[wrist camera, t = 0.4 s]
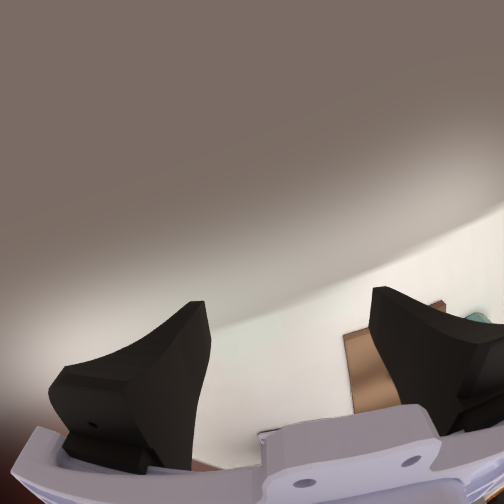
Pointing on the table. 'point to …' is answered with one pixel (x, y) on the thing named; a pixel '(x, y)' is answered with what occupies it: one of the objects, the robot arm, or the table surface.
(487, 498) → the vodka
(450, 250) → the table surface
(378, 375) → the stud board
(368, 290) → the table surface
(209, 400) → the table surface
